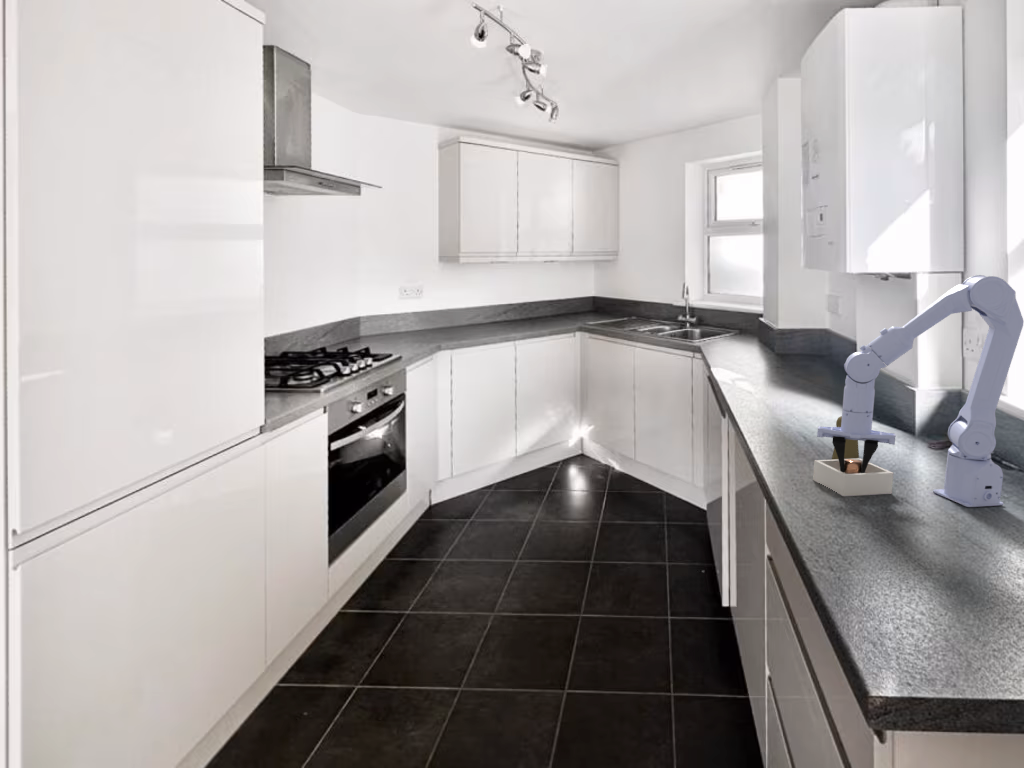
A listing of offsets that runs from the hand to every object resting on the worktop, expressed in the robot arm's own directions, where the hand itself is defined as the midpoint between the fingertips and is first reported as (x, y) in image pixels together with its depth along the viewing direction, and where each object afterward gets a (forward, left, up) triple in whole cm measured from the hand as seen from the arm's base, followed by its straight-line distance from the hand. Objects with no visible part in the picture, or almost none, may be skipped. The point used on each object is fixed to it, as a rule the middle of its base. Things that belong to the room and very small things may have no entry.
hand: (852, 473), depth 148 cm
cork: (+17, -10, -3) cm, 20 cm away
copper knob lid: (0, 0, -2) cm, 2 cm away
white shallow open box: (0, 0, -3) cm, 3 cm away
